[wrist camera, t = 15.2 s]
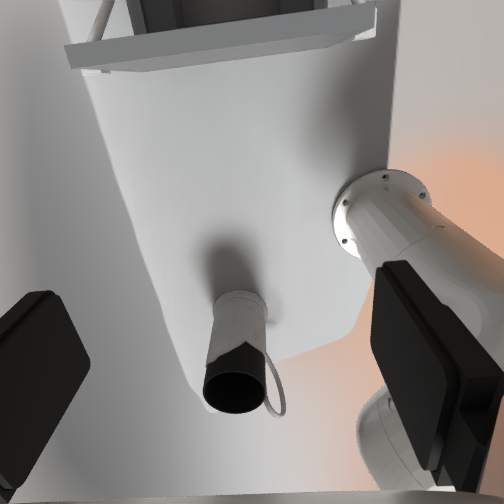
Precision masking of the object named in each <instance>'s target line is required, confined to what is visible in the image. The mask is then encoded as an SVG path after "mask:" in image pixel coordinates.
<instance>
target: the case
mask: <svg viewBox="0 0 504 504" xmlns="http://www.w3.org/2000/svg"><path fill="white" fill-rule="evenodd" d="M114 2H115V3H123V2H127V6H128V11H129V15H130V19H131V23H132V28H133V32H134V36H128V37H121V38H113V39H106V40H101V39H102V36H103V33H104V30H105V28H106V25H107V22H108V19H109V16H110V14H111V11H112V8H113V5H114ZM351 2H352V4H353V5H347V6H340V7H333V8H327V0H279V10H280V14H273V15H266V16H259V17H252V18H245V19H238V20H231V21H224V22H217V23H210V24H203V25H196V26H189V27H184V24H183V18H182V13H181V7H180V1H179V0H103V2H102V4H101V7H100V9H99V12H98V14H97V17H96V19H95V22H94V24H93V27H92V29H91V32H90V34H89V37H88V39H87V42H85V43H78V44H71V45H64V48H65V51H66V54H67V57H68V60H69V63H70V66H71V69H81V71H82V74H83V76H96V75H103V74H111V73H110V71H130V72H148V71H155V70H163V69H170V68H178V67H185V66H193V65H200V64H208V63H215V62H223V61H230V60H238V59H245V58H253V57H260V56H268V55H275V54H283V53H290V52H298V51H305V50H313V49H320V48H328V47H330V46H332V45H335V44H337V43H339V42H342V41H344V40H346V39H349V42H350V41H357V40H365V39H370V38H373V37H376V20H377V8H375V4H376V1H375V2H368V3H366V1H365V0H351Z"/></svg>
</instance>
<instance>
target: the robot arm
mask: <svg viewBox="0 0 504 504" xmlns="http://www.w3.org/2000/svg"><path fill="white" fill-rule="evenodd" d="M384 175H385V177H384V178H382V177H383V176H384ZM420 193H421V194H420ZM419 194H420V195H419ZM345 199H346V201H345V202H343V201H344V200H345ZM332 227H333V231H334V234H335V237H336V239H337V241H338V243H339V244H340V246H341V247H342V248H343V249H344V250H345V251H346V252H348V253H349V254H351V255H352V256H354V257H357V258H359V259H362V261H363V263H364V264H365V266H366V268H367V270H368V271H369V273H370V275H371V277H372V278H373V280H374V282H375V286H374V298H373V299H374V300H373V311H372V325H371V336H370V342H371V348H372V352H373V354H374V357H375V359H376V361H377V364H378V366H379V369H380V371H381V373H382V376H383V378H384V380H385V383H386V384H385V385H383V386H382V388H381V389H380V390H378V391H377V392H376V393H375V394H374V395H373V396H372V397H371V398H370V399H369V400H368V401H367V403H366V404H365V405H364V406H363V408H362V410H361V411H360V413H359V416H358V419H357V423H356V439H357V444H358V448H359V451H360V454H361V457H362V459H363V461H364V464H365V466H366V468H367V470H368V471H369V473H370V475H371V477H372V478H373V480H374V482H375V483H376V485H377V486H378V488H379V489H380V491H333V492H331V491H330V492H303V493H302V492H301V493H272V494H243V495H215V496H187V497H164V498H163V497H162V498H137V499H113V500H87V501H63V502H40V503H19V504H504V259H503V258H501V257H500V256H498V255H497V254H495V253H494V252H492V251H491V250H490V249H488V248H487V247H486V246H484V245H483V244H482V243H480V242H479V241H477V240H476V239H475V238H473V237H472V236H471V235H469V234H468V233H467V232H465V231H464V230H463V229H461V228H460V227H458V226H457V225H456V224H454V223H453V222H451V221H450V220H449V219H448V218H446V217H445V216H444V215H442V214H441V213H440V212H438V211H437V210H436V209H434V208H433V207H432V202H431V198H430V195H429V192H428V191H427V189H426V187H425V186H424V185H423V184H422V183H421V181H420V180H418V179H417V178H415V177H414V176H412V175H410V174H408V173H406V172H404V171H400V170H392V169H384V170H377V171H374V172H371V173H368V174H366V175H364V176H362V177H360V178H358V179H357V180H355V181H354V182H353V183H351V184H350V185H349V186H348V187H347V188H346V189H345V190H344V191H343V193H342V194H341V196H340V197H339V199H338V200H337V203H336V205H335V207H334V211H333V216H332ZM344 238H345V239H344ZM342 239H344V240H342ZM89 369H90V358H89V356H88V354H87V353H86V350H85V348H84V346H83V344H82V342H81V339H80V337H79V335H78V333H77V331H76V329H75V327H74V325H73V323H72V320H71V318H70V316H69V314H68V312H67V310H66V308H65V306H64V304H63V302H62V300H61V298H60V296H58V295H56V294H55V293H54V292H53V291H50V290H47V291H35V292H29V293H27V294H26V295H25V296H24V297H23V298H21V299H20V300H19V301H18V302H17V303H16V304H15V305H14V306H13V307H12V308H11V309H10V310H9V311H8V312H6V313H5V314H4V315H3V316H2V317H1V318H0V504H8V503H9V501H10V500H11V498H12V496H13V495H14V493H15V491H16V489H17V488H19V487H20V486H21V485H22V484H23V483H24V482H25V480H26V479H27V477H28V475H29V474H30V472H31V470H32V469H33V467H34V465H35V463H36V462H37V460H38V458H39V456H40V455H41V453H42V451H43V449H44V447H45V446H46V444H47V443H48V441H49V439H50V437H51V436H52V434H53V432H54V430H55V428H56V427H57V425H58V423H59V422H60V420H61V418H62V416H63V415H64V413H65V411H66V410H67V408H68V406H69V404H70V403H71V401H72V399H73V398H74V396H75V394H76V392H77V391H78V389H79V387H80V385H81V384H82V382H83V380H84V378H85V377H86V375H87V373H88V371H89Z"/></svg>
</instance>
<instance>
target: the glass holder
mask: <svg viewBox="0 0 504 504" xmlns="http://www.w3.org/2000/svg"><path fill="white" fill-rule="evenodd" d="M267 315H268V310H267V306H266V304H265V302H264V301H263V300H262V298H260V297H259V296H258V295H256V294H254V293H252V292H249V291H245V290H234V291H229V292H227V293H225V294H223V295H221V296H220V297H219V298H218V299H217V300H216V302H215V304H214V306H213V317H214V322H213V327H212V333H211V338H210V344H209V350H208V355H207V361H206V366H205V367H207V369H206V374H205V380H204V386H203V396H204V398H205V400H206V402H207V403H208V404H209V405H210V406H212V407H213V408H215V409H216V410H219V411H221V412H225V413H231V414H241V413H246V412H250V411H252V410H254V409H256V408H257V407H259V406H260V405H261V404H262V403H263V401H264V404H265V406H266V408H267V410H268V412H269V413H270V414H271V415H272V416H274V417H275V418H280V417H282V416H284V415H285V412H286V403H285V396H284V391H283V387H282V384H281V381H280V378H279V376H278V373H277V371H276V369H275V367H274V365H273V363H272V361H271V359H270V358H269V356H268V354H267V352H266V332H265V321H266V319H267ZM266 362H267V364H268V365H269V367H270V369H271V371H272V373H273V376H274V378H275V381H276V384H277V387H278V390H279V395H280V401H281V414H278V413H277V412H275V410H274V409H273V408H272V406H271V404H270V402H269V400H268V396H267V387H266V378H265V365H266Z"/></svg>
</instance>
